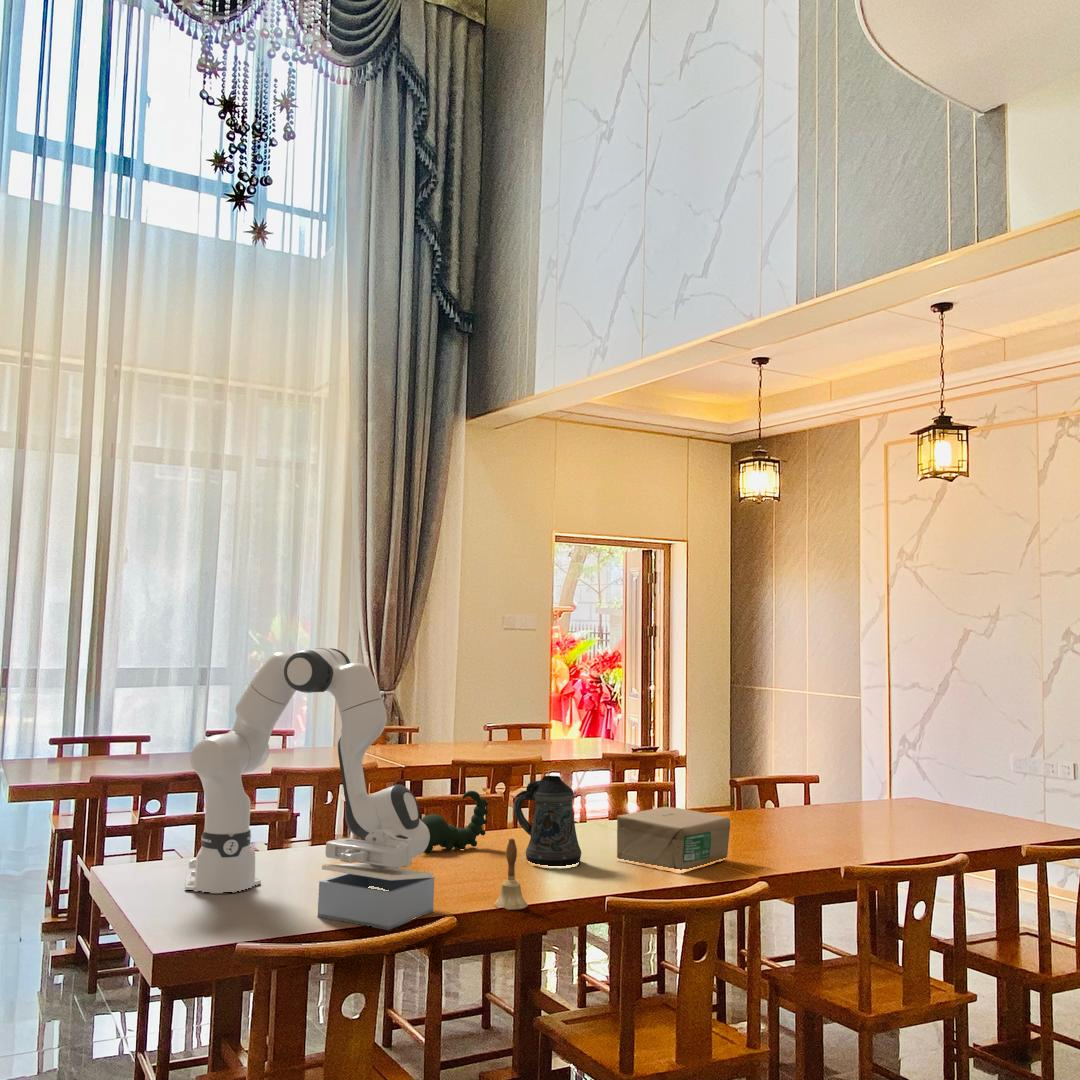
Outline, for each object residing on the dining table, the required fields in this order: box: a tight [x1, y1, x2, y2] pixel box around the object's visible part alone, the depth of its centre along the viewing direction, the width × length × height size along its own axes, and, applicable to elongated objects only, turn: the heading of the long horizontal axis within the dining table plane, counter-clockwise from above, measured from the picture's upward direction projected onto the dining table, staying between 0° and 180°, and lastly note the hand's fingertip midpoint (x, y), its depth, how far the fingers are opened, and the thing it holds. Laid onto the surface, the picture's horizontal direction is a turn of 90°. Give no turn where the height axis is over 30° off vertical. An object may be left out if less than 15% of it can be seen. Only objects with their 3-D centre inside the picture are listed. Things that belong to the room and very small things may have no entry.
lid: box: [321, 862, 434, 880], centre depth 237 cm, size 17×20×1 cm
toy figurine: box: [420, 790, 489, 853], centre depth 312 cm, size 9×19×25 cm
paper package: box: [616, 806, 731, 870], centre depth 304 cm, size 27×26×14 cm
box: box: [317, 873, 435, 931], centre depth 237 cm, size 18×20×8 cm
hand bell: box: [494, 838, 529, 911], centre depth 248 cm, size 8×8×16 cm
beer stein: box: [513, 775, 582, 866], centre depth 297 cm, size 16×19×25 cm
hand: (345, 858), depth 226 cm, fingers closed
